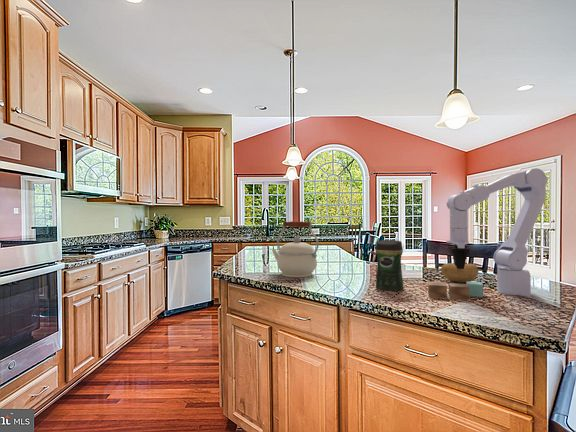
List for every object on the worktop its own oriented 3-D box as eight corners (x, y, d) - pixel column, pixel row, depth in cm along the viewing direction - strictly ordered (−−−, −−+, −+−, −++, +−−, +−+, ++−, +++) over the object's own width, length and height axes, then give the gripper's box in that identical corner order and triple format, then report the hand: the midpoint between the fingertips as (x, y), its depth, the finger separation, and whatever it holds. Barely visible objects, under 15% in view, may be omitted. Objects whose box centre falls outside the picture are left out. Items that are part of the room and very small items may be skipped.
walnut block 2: (466, 296, 115) (466, 284, 115) (469, 299, 110) (469, 287, 110) (448, 294, 117) (448, 283, 117) (450, 298, 112) (450, 286, 112)
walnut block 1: (445, 294, 118) (445, 282, 118) (446, 298, 113) (446, 286, 113) (428, 293, 120) (428, 281, 120) (428, 296, 114) (428, 284, 114)
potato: (442, 278, 150) (442, 260, 150) (479, 282, 143) (479, 262, 143) (438, 282, 142) (438, 263, 142) (477, 286, 135) (477, 265, 135)
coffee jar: (405, 289, 129) (405, 239, 129) (399, 293, 122) (399, 241, 122) (379, 286, 134) (379, 238, 134) (373, 290, 127) (373, 240, 127)
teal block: (480, 294, 119) (480, 282, 119) (483, 296, 115) (483, 284, 115) (466, 292, 120) (466, 281, 120) (468, 295, 116) (468, 283, 116)
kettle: (327, 274, 162) (327, 221, 162) (308, 280, 147) (307, 221, 147) (282, 269, 176) (282, 220, 176) (260, 275, 160) (260, 221, 160)
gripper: (445, 227, 129) (445, 263, 130) (447, 229, 116) (448, 269, 116) (466, 227, 127) (466, 264, 127) (471, 229, 113) (471, 270, 113)
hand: (459, 267), depth 121 cm, fingers open, 7 cm apart
